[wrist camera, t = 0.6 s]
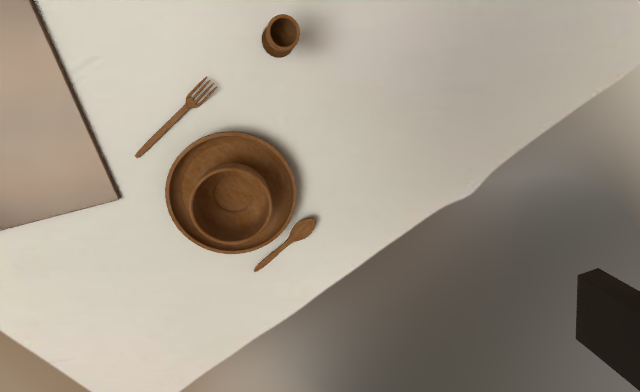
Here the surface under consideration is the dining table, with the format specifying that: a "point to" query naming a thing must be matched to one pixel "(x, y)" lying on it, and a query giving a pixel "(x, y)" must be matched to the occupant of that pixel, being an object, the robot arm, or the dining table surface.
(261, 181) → the place setting
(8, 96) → the bronze metal board
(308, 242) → the dining table surface
